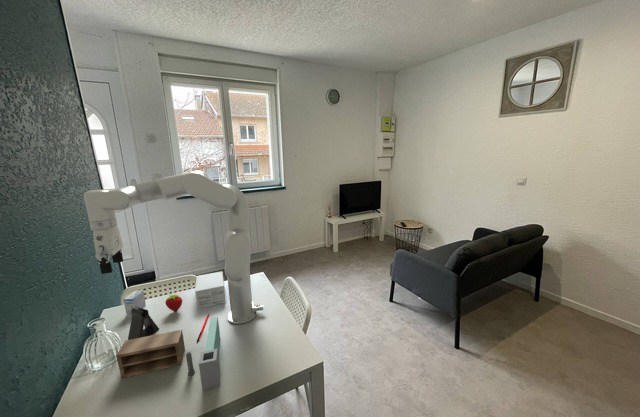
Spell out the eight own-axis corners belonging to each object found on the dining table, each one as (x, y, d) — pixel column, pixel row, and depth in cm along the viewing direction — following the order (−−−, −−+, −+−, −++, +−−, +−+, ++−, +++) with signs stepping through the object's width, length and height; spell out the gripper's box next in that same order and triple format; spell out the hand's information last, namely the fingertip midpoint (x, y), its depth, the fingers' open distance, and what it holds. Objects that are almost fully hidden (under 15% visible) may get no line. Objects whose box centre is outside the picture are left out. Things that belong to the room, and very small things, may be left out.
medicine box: (136, 306, 126) (133, 290, 124) (146, 305, 127) (143, 289, 125) (126, 316, 119) (122, 299, 117) (136, 315, 119) (133, 298, 117)
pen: (195, 344, 101) (195, 341, 101) (208, 314, 119) (208, 312, 119) (198, 344, 101) (198, 341, 101) (210, 314, 120) (210, 312, 119)
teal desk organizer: (219, 386, 82) (216, 359, 80) (202, 390, 81) (198, 364, 79) (223, 337, 104) (220, 315, 102) (210, 340, 102) (207, 318, 100)
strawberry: (177, 316, 118) (174, 297, 115) (163, 315, 119) (160, 295, 117) (187, 309, 123) (184, 290, 121) (173, 307, 125) (170, 288, 123)
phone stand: (137, 344, 101) (132, 317, 99) (127, 340, 104) (122, 313, 101) (159, 329, 109) (154, 304, 107) (149, 326, 112) (145, 301, 109)
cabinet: (199, 347, 99) (197, 326, 97) (194, 374, 87) (191, 351, 85) (129, 362, 92) (125, 340, 91) (113, 394, 80) (107, 370, 78)
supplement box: (198, 291, 139) (196, 275, 137) (224, 286, 144) (222, 270, 142) (197, 308, 124) (194, 291, 122) (226, 302, 129) (224, 285, 127)
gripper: (105, 229, 87) (115, 275, 91) (125, 217, 103) (132, 257, 107) (77, 231, 85) (89, 279, 89) (102, 219, 101) (111, 259, 105)
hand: (113, 267), depth 98 cm, fingers open, 9 cm apart
